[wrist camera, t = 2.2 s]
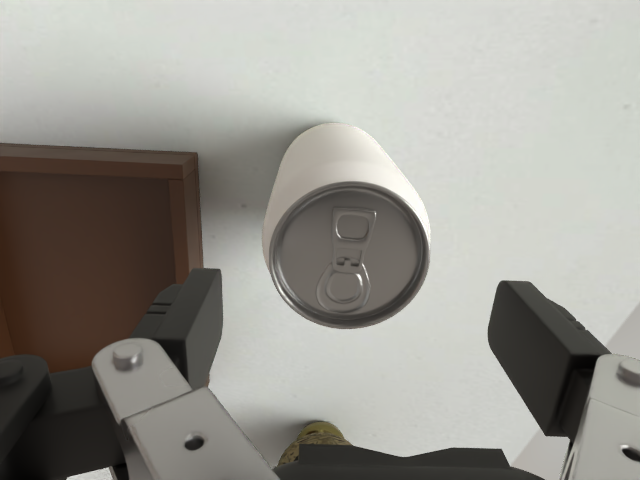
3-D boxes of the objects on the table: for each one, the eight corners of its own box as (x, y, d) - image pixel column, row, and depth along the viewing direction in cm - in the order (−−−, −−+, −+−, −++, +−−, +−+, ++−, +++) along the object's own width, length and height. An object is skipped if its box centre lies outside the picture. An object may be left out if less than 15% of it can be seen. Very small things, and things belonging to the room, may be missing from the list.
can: (276, 222, 27) (251, 332, 16) (283, 115, 25) (260, 158, 14) (378, 231, 28) (423, 345, 17) (395, 126, 25) (461, 178, 14)
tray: (-42, 140, 25) (-91, 151, 22) (197, 152, 26) (182, 164, 23) (17, 375, 31) (-14, 409, 28) (209, 381, 32) (198, 415, 29)
